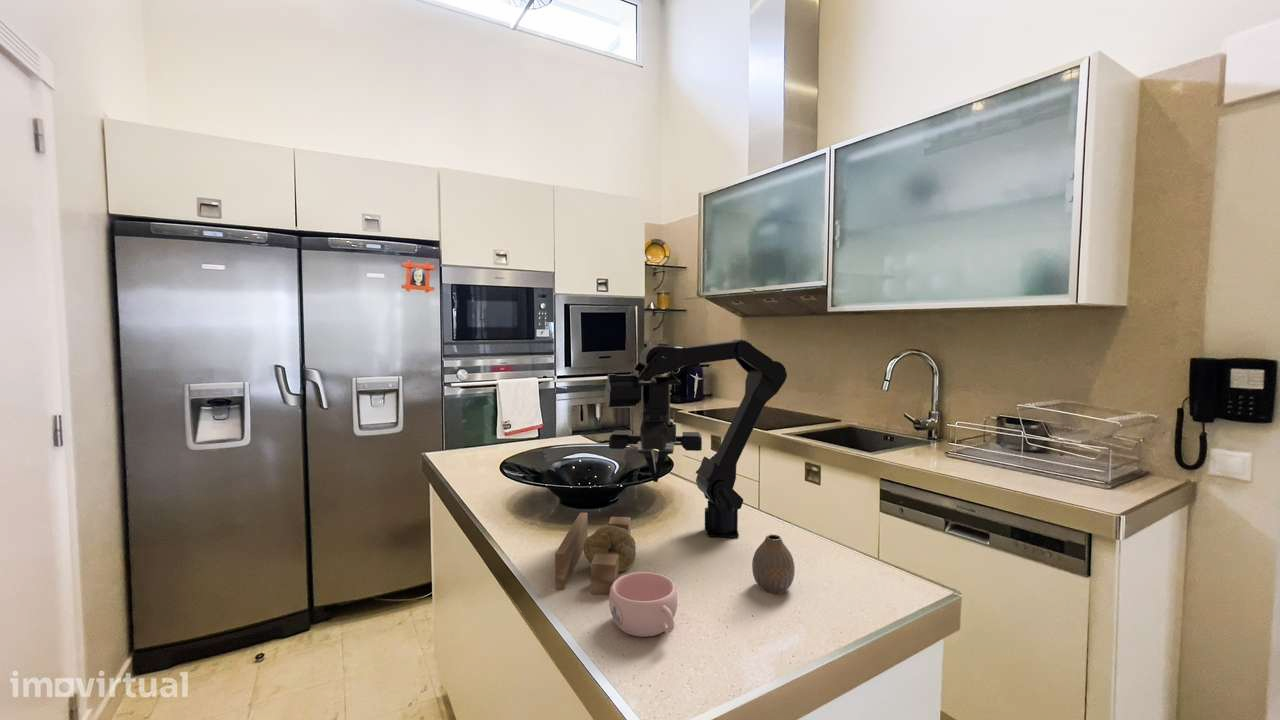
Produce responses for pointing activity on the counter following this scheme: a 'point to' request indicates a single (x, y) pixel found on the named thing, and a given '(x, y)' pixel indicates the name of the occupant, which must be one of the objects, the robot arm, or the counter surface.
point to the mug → (643, 603)
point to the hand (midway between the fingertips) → (655, 481)
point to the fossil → (611, 545)
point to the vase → (773, 565)
